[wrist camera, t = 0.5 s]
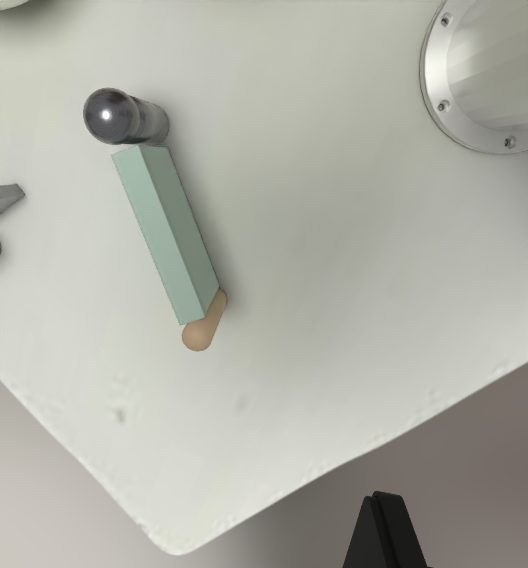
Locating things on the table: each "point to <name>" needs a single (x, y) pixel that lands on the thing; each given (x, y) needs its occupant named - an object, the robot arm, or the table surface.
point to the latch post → (9, 197)
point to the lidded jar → (10, 3)
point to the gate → (173, 240)
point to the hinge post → (124, 119)
